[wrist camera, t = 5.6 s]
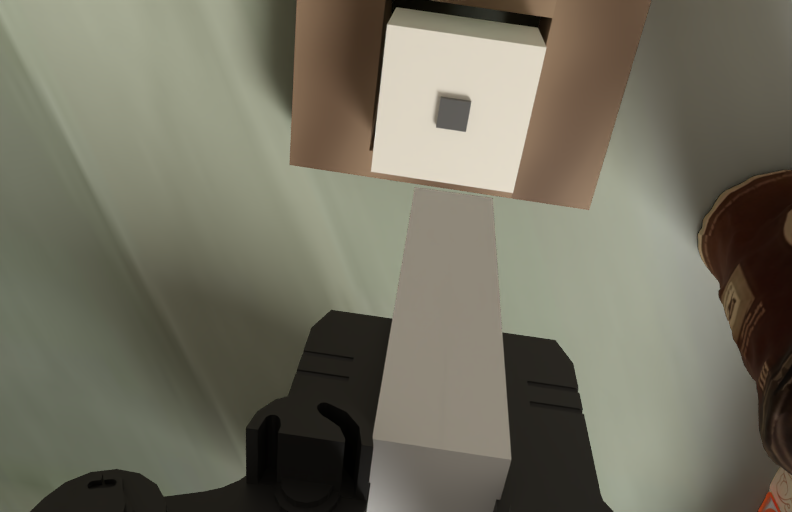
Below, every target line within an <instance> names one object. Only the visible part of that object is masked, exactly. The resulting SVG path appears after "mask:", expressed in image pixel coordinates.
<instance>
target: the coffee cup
mask: <svg viewBox="0 0 792 512" xmlns="http://www.w3.org/2000/svg"><path fill="white" fill-rule="evenodd" d="M698 249H699V253H700V256H701V258H702V260H703V262H704V263H705V265H706V266H707V268H708V269H709V270H710V272H711V273H712V274H713V275H714V276H715V278H716V279H717V280H718V281H719V283H720V290H719V298H720V301H721V303H722V304H723V307H724V310H725V314H726V317H727V320H728V321H729V324H730V328H731V330H732V336H733V340H734V341H735V343H736V344H737V346H738V348H739V351H740V353H741V356H742V360H743V363H744V366H745V367H746V369H747V371H748V372H749V374H750V375H751V377H752V378H753V379H754V380H755V381H756V384H757V392H758V400H759V401H758V415H759V431H760V436H761V440H762V444H763V447H764V449H765V451H766V453H767V454H768V456H769V457H770V458H771V459H772V460H773V461H774V462H775V463H776V464H777V465H779V466H780V467H782V468H783V469H784V470H785V471H787V472H788V473H789V474H791V475H792V170H782V171H777V172H772V173H768V174H762V175H757V176H753V177H751V178H749V179H748V180H746V181H745V182H743V183H741V184H739V185H737V186H734V187H733V188H731V189H728V190H726V191H725V192H723V193H722V194H721V195H720V196H719V197H718V199H717V200H716V202H715V204H714V206H713V208H712V209H711V210H710V212H709V213H708V214H707V215H706V216H705V217H704V219H703V225H702V229H701V230H700V232H699V234H698Z"/></svg>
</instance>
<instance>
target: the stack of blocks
mask: <svg viewBox="0 0 792 512" xmlns="http://www.w3.org/2000/svg"><path fill="white" fill-rule="evenodd" d="M769 489H770V490H769V492H768V493H767V494H766V497H765V499H764V501H763V503H762V505H761V506H760V508H759V510H758V512H792V475H791V474H789V473H788V472H787V471H785V470H784V469H783V468H782V467H779V469H778V471H777V472H776V474H775V476H774V478H773V480H772V482H771V484H770V486H769Z"/></svg>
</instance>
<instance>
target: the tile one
mask: <svg viewBox="0 0 792 512" xmlns="http://www.w3.org/2000/svg"><path fill="white" fill-rule="evenodd" d="M546 48H547V47H546V45H545V43H544V40H543V38H542V36H541V33H540V31H539V29H538V28H536V27H529V26H523V25H516V24H509V23H502V22H495V21H488V20H481V19H474V18H467V17H461V16H454V15H447V14H440V13H433V12H426V11H419V10H412V9H405V8H398V7H396V9H395V10H394V12H393V14H392V16H391V18H390V20H389V22H388V24H387V30H386V39H385V48H384V57H383V67H382V76H381V85H380V94H379V103H378V112H377V121H376V130H375V139H374V148H373V158H372V167H371V172H376V173H383V174H389V175H396V176H403V177H409V178H416V179H423V180H429V181H436V182H443V183H449V184H456V185H463V186H469V187H476V188H482V189H489V190H496V191H502V192H509V193H513V191H514V187H515V182H516V178H517V174H518V169H519V165H520V161H521V156H522V152H523V148H524V143H525V139H526V135H527V130H528V126H529V122H530V117H531V113H532V109H533V104H534V100H535V96H536V91H537V87H538V83H539V78H540V74H541V70H542V65H543V61H544V57H545V52H546Z"/></svg>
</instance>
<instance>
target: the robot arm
mask: <svg viewBox="0 0 792 512" xmlns="http://www.w3.org/2000/svg"><path fill="white" fill-rule="evenodd" d="M582 410H583V408H582V403H581V399H580V394H579V393H578V384H577V380H576V375H575V370H574V365H573V363H572V361H571V360H570V359H569V357H568V356H567V355H566V353H565V352H564V351H563V350H562V348H561V347H560V346H559V344H558V343H557V342H556V340H550V339H543V338H537V337H530V336H523V335H516V334H509V333H502V322H501V308H500V294H499V280H498V266H497V252H496V238H495V224H494V211H493V198H489V197H481V196H474V195H467V194H460V193H453V192H446V191H438V190H431V189H424V188H417V187H415V189H414V195H413V201H412V207H411V213H410V218H409V224H408V230H407V236H406V242H405V248H404V254H403V260H402V266H401V272H400V278H399V283H398V289H397V295H396V301H395V307H394V313H393V319H390V318H383V317H376V316H369V315H363V314H356V313H349V312H342V311H335V310H331V311H330V312H328V313H327V314H326V315H325V316H324V317H323V318H322V319H321V320H319V321H318V322H317V323H316V324H315V325H314V326H313V327H312V328H311V331H310V334H309V337H308V340H307V342H306V345H305V348H304V353H303V355H302V357H301V360H300V363H299V366H298V369H297V374H296V375H295V377H294V380H293V383H292V386H291V389H290V392H289V395H288V396H287V397H283V398H280V399H276V400H274V401H273V402H271V403H270V404H268V405H267V406H265V407H264V408H262V409H260V410H259V411H257V413H256V414H255V416H254V417H253V419H252V420H251V422H250V423H249V424H248V426H247V427H246V476H245V477H244V478H242V479H241V480H239V481H237V482H234V483H232V484H230V485H227V486H225V487H223V488H218V489H214V490H209V491H205V492H198V493H190V494H182V495H174V496H166V497H163V495H162V493H161V491H160V490H159V488H158V486H157V484H155V483H154V482H152V481H150V480H149V479H147V478H146V477H144V476H143V475H141V474H140V473H135V472H129V471H124V470H119V469H114V470H105V471H97V472H90V473H88V474H85V475H83V476H80V477H78V478H75V479H73V480H70V481H68V482H65V483H64V484H63V485H61V486H60V487H58V488H57V489H56V490H54V491H53V492H52V493H50V494H49V495H48V496H46V497H45V498H44V499H43V500H42V501H41V502H40V503H38V504H37V505H36V506H35V507H34V508H33V509H32V510H31V511H30V512H613V511H612V509H611V508H610V507H609V506H608V505H607V504H606V503H605V502H604V501H603V499H602V496H601V494H600V489H599V484H598V479H597V475H596V470H595V465H594V460H593V456H592V451H591V446H590V441H589V437H588V432H587V427H586V422H585V418H584V414H582Z"/></svg>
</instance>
